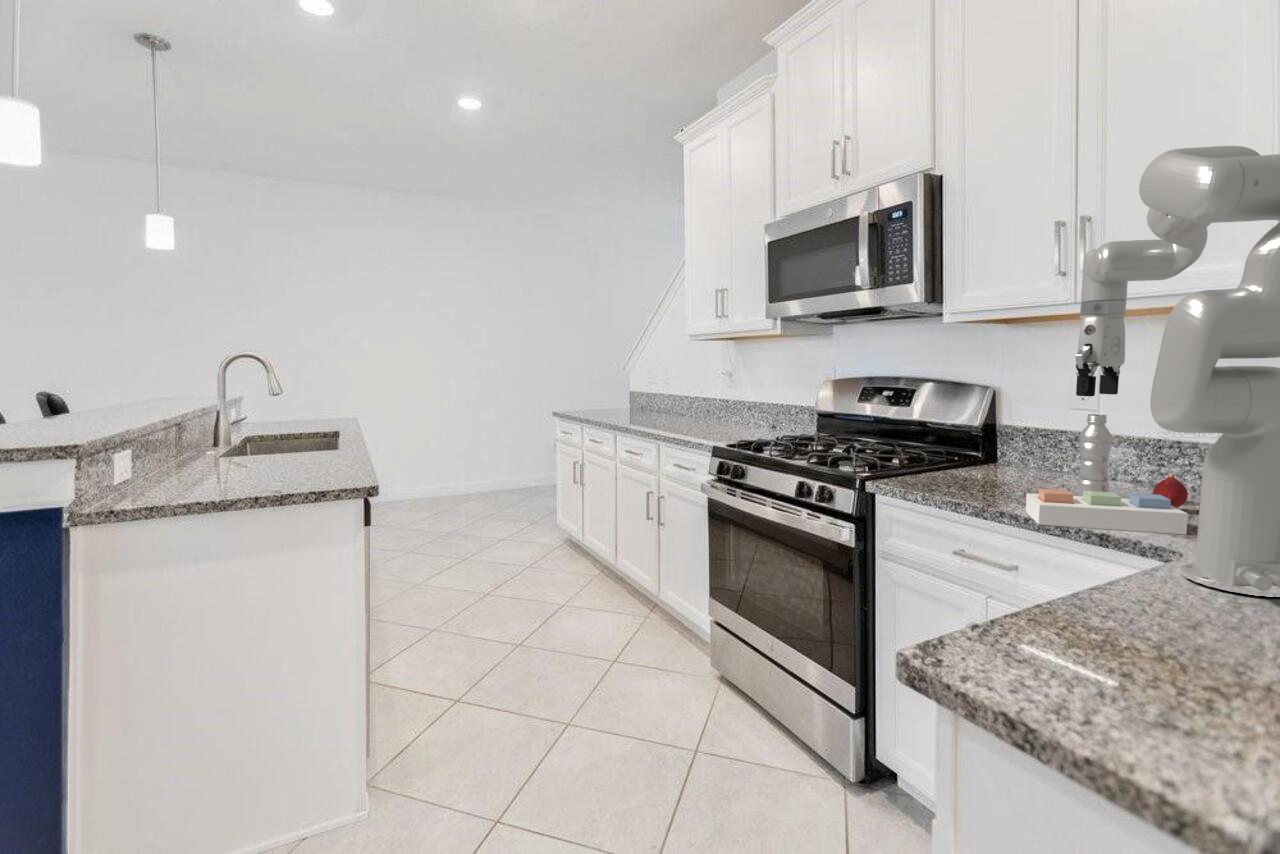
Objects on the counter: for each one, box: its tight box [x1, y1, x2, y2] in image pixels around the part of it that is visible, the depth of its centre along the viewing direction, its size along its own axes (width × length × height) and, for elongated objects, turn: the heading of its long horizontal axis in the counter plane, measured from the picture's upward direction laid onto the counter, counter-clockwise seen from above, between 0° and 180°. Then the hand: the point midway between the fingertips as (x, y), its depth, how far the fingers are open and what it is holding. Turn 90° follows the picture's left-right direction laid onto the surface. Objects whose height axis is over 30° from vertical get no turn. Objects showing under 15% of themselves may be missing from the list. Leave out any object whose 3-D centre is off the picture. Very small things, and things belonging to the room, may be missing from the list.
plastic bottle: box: [1075, 413, 1113, 496], centre depth 150 cm, size 6×7×20 cm
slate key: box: [1129, 492, 1171, 509], centre depth 127 cm, size 5×5×3 cm
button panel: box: [1025, 492, 1189, 535], centre depth 130 cm, size 12×24×4 cm, turn 70°
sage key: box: [1083, 491, 1122, 506], centre depth 129 cm, size 5×5×3 cm
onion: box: [1152, 473, 1189, 509], centre depth 139 cm, size 6×6×8 cm
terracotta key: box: [1037, 488, 1074, 504], centre depth 132 cm, size 5×5×3 cm
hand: (1096, 395), depth 132 cm, fingers open, 9 cm apart
